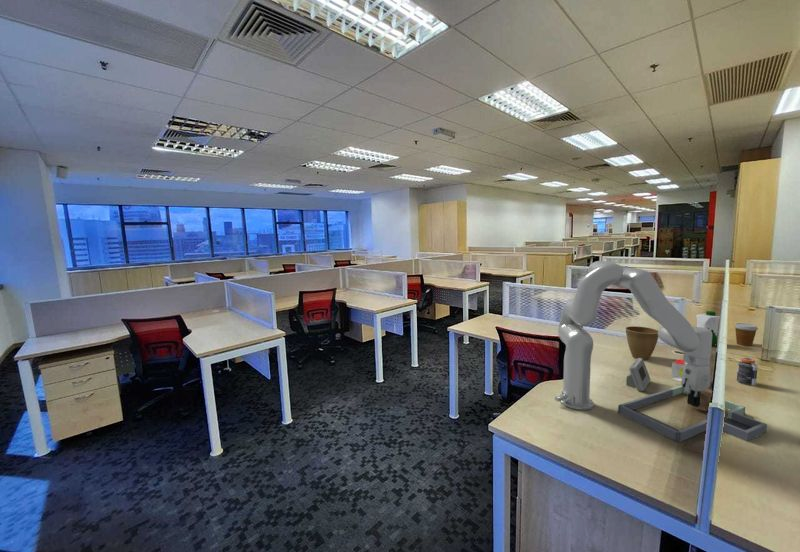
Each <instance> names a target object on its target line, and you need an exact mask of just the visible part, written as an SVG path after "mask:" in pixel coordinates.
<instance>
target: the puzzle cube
mask: <svg viewBox="0 0 800 552" xmlns="http://www.w3.org/2000/svg"><path fill="white" fill-rule="evenodd" d="M684 363H685V362H684V361H683V359H682V358H680V359H676V360H675V361H672V362H671V379H672V380H675V381H678V382H682V372H683V367H684Z"/></svg>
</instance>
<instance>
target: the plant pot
mask: <svg viewBox="0 0 800 552" xmlns="http://www.w3.org/2000/svg"><path fill="white" fill-rule="evenodd" d="M658 331H659V329H658V330H657V329H656V328H652V327H647V326H637V325H636V326H634V325H633V326H626V327H625V333H626V340H627V344H628V347H629V351H630V354H631V356H632V357H633V358H634V359H635V360H636V359H638V358H642V359H643V361H648V360H649V359H650V358H651V356H652V355H653V353H654V351H655V348H656V347H657V343H658V340H659V337H658Z"/></svg>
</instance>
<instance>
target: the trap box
mask: <svg viewBox="0 0 800 552" xmlns="http://www.w3.org/2000/svg"><path fill="white" fill-rule="evenodd" d="M684 390H685V388H684V387H682V384H680V385H677V386H673V387H671V388H669V389H664V390H662V391H659V392H655V393H653V394H649V395H646V396H642V397H640V398H637V399H633V400H631V401H627V402H624V403H620V404H618V406H617V407H618V409H617V413H619V414H621V415H623V416H625V417H627V418H629V419H630V420H633V421H635V422H637V423H639V424H641V425H643V426H645V427H647V428H649V429H650V430H653V431H655V432H657V433H659V434H661V435H663V436H665V437H667V438H669V439H672V440H673V441H675V442H677V443H680V442H682V441H685V440H687V439H690V438H693V437H695V436H696V434H697V435H699V434H698V433H700V432H702V431H704V432H706V424H707V419H706V420H702V421H700V422H698V423H695V424H693V425H690V426H688V427H685V428H683V429H680V430H679V429H677V428H675V427H674V426H671V425H669V424H667V423H665V422H662V421H661V420H659V419H656V418H654V417H652V416H649V415H648V414H646V413H643V412H641V411H639V410H637V409H639V408H642V407H645V406H647V405H651V404H655V403H657V402H659V401H660V402H661V401H663V400H665V399H668V398H671V397H674V396H678V395H681V394H684V395H687V396H688V394H687V393H686V392H684ZM724 400H725V408H724V409H726V410H728V409H730V410H728V411H727V417H726V418H724V427H723V431H722V432H724V433H726V434H729V435H730V434H731V436H733V437H736V438H738V439H740V440H742V441H745V442H749V441H751V440H753V439H755V438H757V437H759V436H761V435H760V434H762V435H764V434H766V433H767V428H768V427H767V426H768V424H767V423H765V422H762V421H759V420H756V419H755V418H751V417H749V416H746V415H745V414H746V406H743V405H741V404H738V403H735V402H732V401H729V400H727V399H724ZM765 432H766V433H765ZM702 433H703V432H702ZM763 433H764V434H763ZM700 434H701V433H700ZM694 435H695V436H694ZM758 435H759V436H758ZM756 436H757V437H756ZM752 438H753V439H752Z"/></svg>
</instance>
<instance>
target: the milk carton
mask: <svg viewBox="0 0 800 552" xmlns="http://www.w3.org/2000/svg"><path fill="white" fill-rule="evenodd" d="M695 317H696V322H697V323H696V327H701V328H706V329H709V330H710V331H711V332H712V345H715V344H716V346H718V334H719V332H718V331H719V324H720V319H721V316H720V315H716V311H714V310H713V311H711V310H706V311H705V313H699V314H696V315H695Z"/></svg>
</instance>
